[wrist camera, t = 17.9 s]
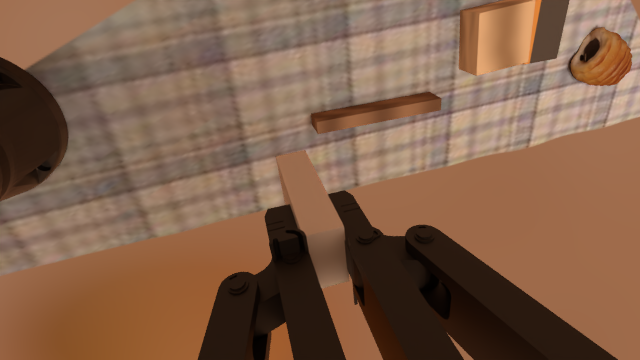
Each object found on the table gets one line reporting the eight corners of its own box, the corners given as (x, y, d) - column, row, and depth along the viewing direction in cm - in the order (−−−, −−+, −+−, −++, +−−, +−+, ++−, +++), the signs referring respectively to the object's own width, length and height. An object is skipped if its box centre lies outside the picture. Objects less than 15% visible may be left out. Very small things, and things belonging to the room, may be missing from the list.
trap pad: (522, 63, 49) (524, 64, 49) (537, -21, 44) (539, -21, 44) (554, 58, 50) (556, 58, 49) (573, -26, 45) (575, -26, 44)
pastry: (630, 50, 52) (657, 55, 49) (598, 93, 55) (622, 101, 52) (591, 23, 49) (617, 27, 46) (559, 71, 51) (582, 77, 48)
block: (457, 68, 47) (476, 75, 44) (459, 10, 44) (479, 13, 40) (506, 56, 48) (528, 62, 45) (511, -2, 44) (535, -1, 41)
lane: (312, 125, 46) (317, 134, 43) (294, -19, 38) (300, -18, 35) (428, 102, 48) (440, 110, 46) (436, -37, 40) (450, -37, 38)
